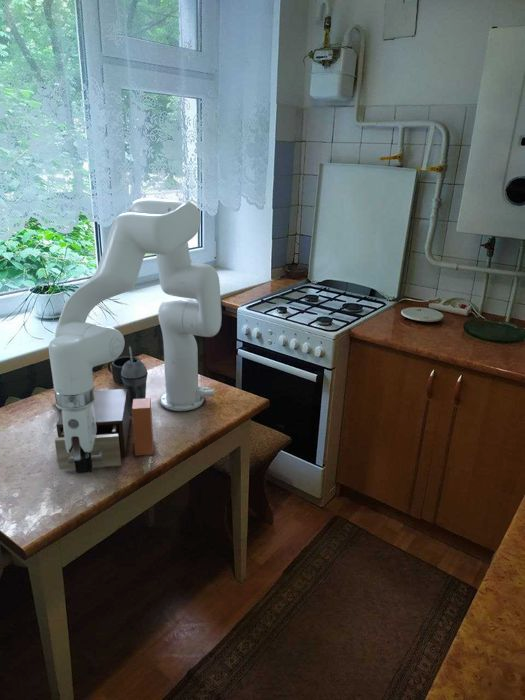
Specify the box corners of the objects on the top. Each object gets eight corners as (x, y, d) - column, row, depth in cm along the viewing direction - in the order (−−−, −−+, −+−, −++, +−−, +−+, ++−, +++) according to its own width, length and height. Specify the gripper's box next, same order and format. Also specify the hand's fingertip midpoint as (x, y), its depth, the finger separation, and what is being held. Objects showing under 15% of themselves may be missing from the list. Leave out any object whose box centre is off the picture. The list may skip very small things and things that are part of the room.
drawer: (119, 477, 111) (116, 447, 108) (55, 482, 109) (50, 451, 106) (125, 430, 129) (123, 403, 126) (70, 433, 127) (67, 406, 124)
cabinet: (125, 455, 121) (122, 420, 117) (61, 460, 118) (56, 424, 114) (129, 420, 136) (127, 388, 132) (73, 424, 133) (69, 391, 130)
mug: (148, 379, 160) (146, 359, 157) (130, 390, 152) (128, 369, 150) (118, 372, 165) (116, 352, 162) (99, 382, 157) (97, 362, 154)
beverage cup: (154, 407, 143) (151, 342, 136) (141, 418, 137) (136, 352, 129) (132, 402, 146) (128, 339, 138) (118, 413, 139) (112, 348, 132)
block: (153, 443, 126) (150, 397, 121) (153, 454, 121) (150, 407, 117) (136, 444, 125) (133, 398, 120) (135, 455, 121) (131, 408, 116)
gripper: (89, 412, 94) (98, 491, 101) (98, 378, 108) (106, 450, 115) (47, 414, 93) (59, 494, 100) (62, 380, 106) (72, 452, 113)
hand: (84, 470), depth 107 cm, fingers closed
